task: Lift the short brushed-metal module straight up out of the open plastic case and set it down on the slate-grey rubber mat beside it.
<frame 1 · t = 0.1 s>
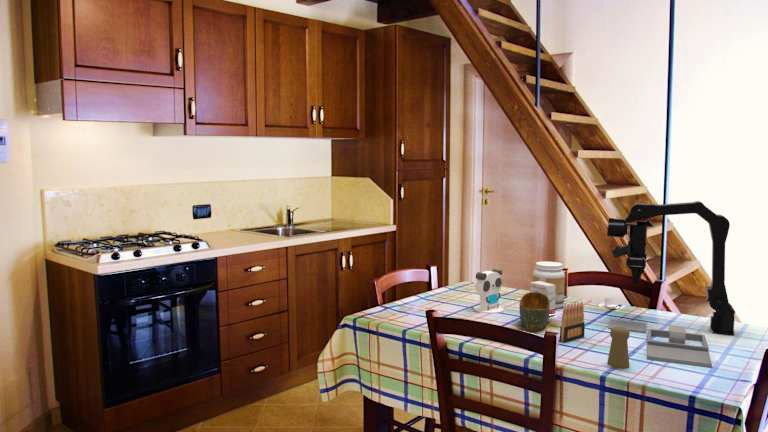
hand: (635, 282, 223), 15 cm above the table, tool pointing down, fingers open, 9 cm apart
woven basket: (534, 325, 220), on the table
teacup and saucer: (602, 308, 246), on the table
slate mat: (627, 326, 219), on the table
open case: (676, 344, 200), on the table
ink box: (542, 314, 235), on the table
panda figurine: (488, 310, 241), on the table
ammunition clip: (572, 340, 204), on the table
module: (676, 336, 200), in the open case
cork: (618, 365, 179), on the table
supplement tub: (547, 306, 247), on the table
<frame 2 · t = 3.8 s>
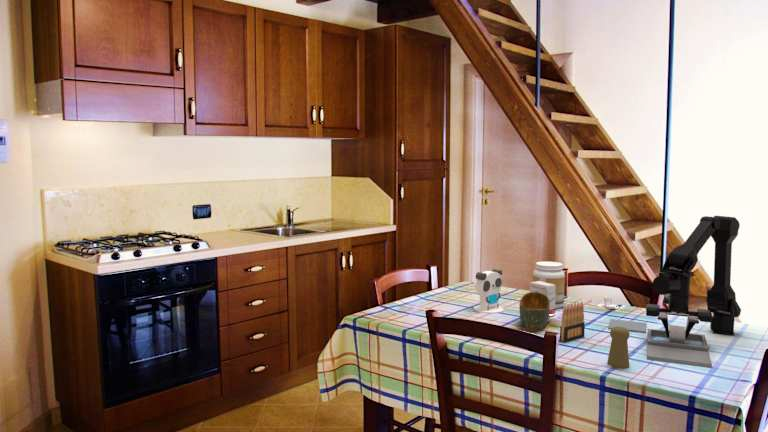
hand: (676, 339, 200), 2 cm above the table, tool pointing down, fingers closed on module, 4 cm apart
module: (676, 336, 199), in the open case, touching gripper
everything else where it was.
when the fingers open (3 cm above the table, at t = 9.6 s): module drops 1 cm, resting on slate mat.
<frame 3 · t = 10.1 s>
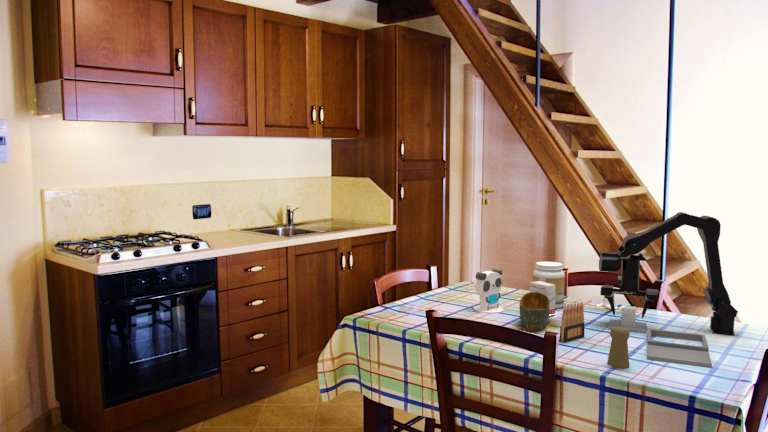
hand: (628, 316, 219), 3 cm above the table, tool pointing down, fingers open, 9 cm apart
module: (628, 318, 219), on the slate mat
everything else where it was.
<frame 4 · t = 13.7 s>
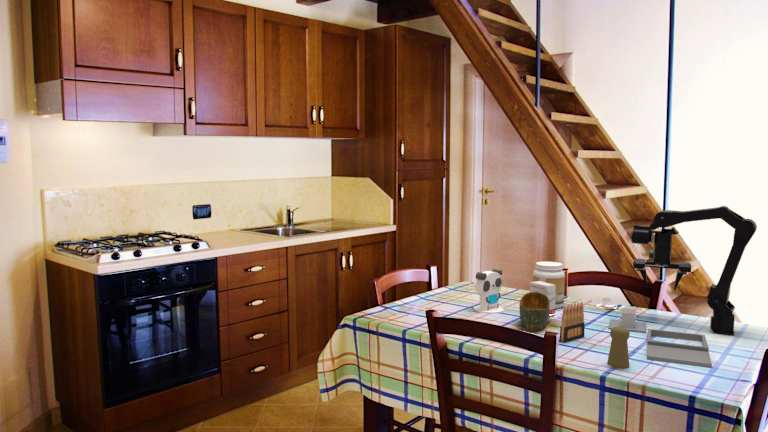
hand: (660, 289, 224), 12 cm above the table, tool pointing down, fingers open, 9 cm apart
nothing on the table moved.
at the end: module inside the target area on the slate mat (0.1 cm from its centre), point 3.0 cm above the slate mat's base; module tilted 0°; the gripper is holding nothing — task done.
